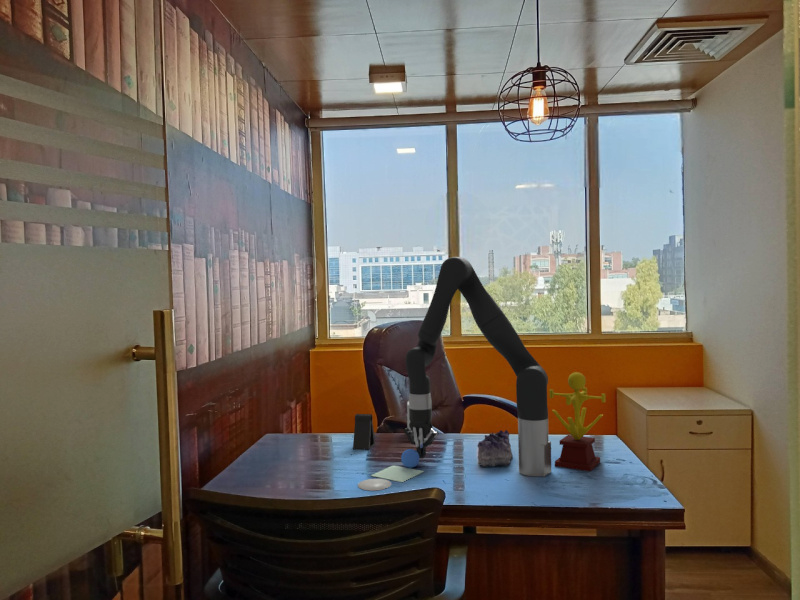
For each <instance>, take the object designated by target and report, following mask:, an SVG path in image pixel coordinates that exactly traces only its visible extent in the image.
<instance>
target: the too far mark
mask: <svg viewBox="0 0 800 600" xmlns="http://www.w3.org/2000/svg"><path fill="white" fill-rule="evenodd" d="M357 487H358V488H359V489H361V490H364V491H373V492H375V491H382V490H386V489H385V488H387V489H389V488H390V487H392V482H391V480H388V479H383V478H370V479H364V480H361V481H359V482H358V484H357ZM388 487H389V488H388Z"/></svg>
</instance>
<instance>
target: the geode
mask: <svg viewBox="0 0 800 600" xmlns="http://www.w3.org/2000/svg"><path fill="white" fill-rule="evenodd" d="M477 448H478V449H477V451H478V452H477V460H478V463H477V464H478V466H481V468H486V467H496V466H497V467H500V466H503V467H504V466H506V467H507V466H510V465H511V461H512V460H513V458H514V457H513V456H514V455H513V452H512V448H511V442H510V433H509V431H508V430H507V429H505V430H504V431H503V430H502V429H500V430H499V432H498V431H497V432H496V433H494V432H491V433H489V434H488V435H487V434H485V435H484V439H482V440H481V441H478V443H477Z"/></svg>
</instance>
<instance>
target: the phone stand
mask: <svg viewBox="0 0 800 600" xmlns="http://www.w3.org/2000/svg"><path fill="white" fill-rule="evenodd" d="M353 429H354V431H353V441H352V442H353V443H352V444H353V445H352V450H360V451H362V450H363V451H369V450H371V449H372V448H373V447H374V446H375V445H376V437H375V431H374V423H373V415H372V414H371V413H355V415H354V428H353Z"/></svg>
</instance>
